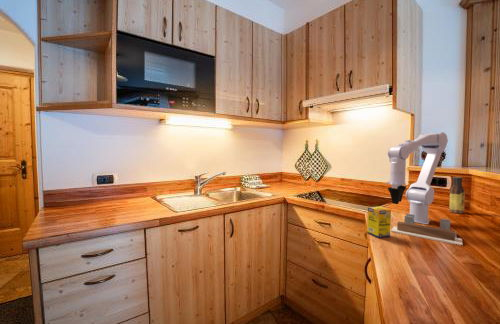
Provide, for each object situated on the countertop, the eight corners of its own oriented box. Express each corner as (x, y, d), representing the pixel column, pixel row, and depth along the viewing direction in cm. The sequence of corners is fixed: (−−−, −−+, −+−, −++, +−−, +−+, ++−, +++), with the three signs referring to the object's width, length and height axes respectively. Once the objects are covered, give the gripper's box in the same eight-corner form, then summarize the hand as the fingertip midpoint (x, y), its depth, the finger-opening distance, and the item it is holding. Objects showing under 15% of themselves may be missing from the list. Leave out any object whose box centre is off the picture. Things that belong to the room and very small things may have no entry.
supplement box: (378, 238, 89) (379, 210, 88) (366, 233, 94) (367, 206, 94) (390, 237, 90) (391, 209, 90) (378, 232, 96) (379, 206, 96)
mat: (394, 227, 102) (394, 226, 102) (461, 240, 87) (461, 238, 87) (391, 231, 96) (391, 230, 96) (462, 245, 82) (462, 244, 82)
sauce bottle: (464, 214, 124) (466, 177, 123) (449, 212, 127) (450, 177, 127) (463, 212, 129) (464, 176, 128) (448, 210, 133) (449, 176, 132)
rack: (401, 224, 106) (401, 212, 106) (456, 234, 94) (456, 220, 94) (398, 227, 102) (399, 215, 101) (456, 238, 89) (457, 224, 89)
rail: (398, 228, 99) (398, 221, 99) (454, 238, 87) (454, 230, 87) (397, 230, 96) (397, 223, 96) (454, 241, 85) (454, 233, 84)
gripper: (390, 171, 112) (390, 198, 113) (384, 173, 102) (383, 203, 102) (408, 172, 108) (407, 200, 108) (403, 174, 97) (402, 206, 97)
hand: (396, 202), depth 105 cm, fingers open, 7 cm apart
